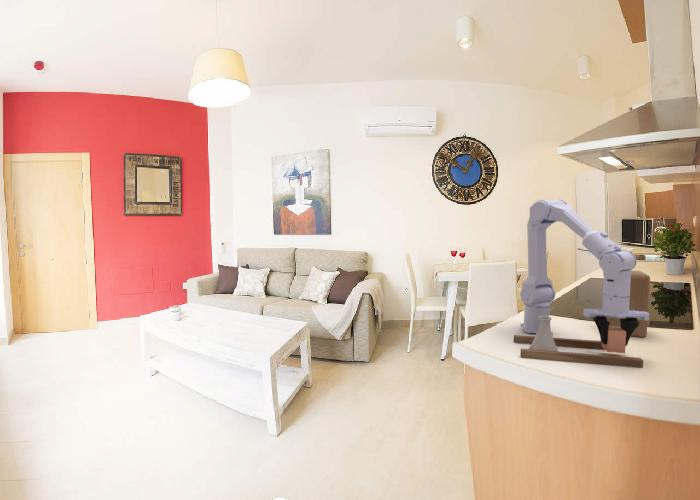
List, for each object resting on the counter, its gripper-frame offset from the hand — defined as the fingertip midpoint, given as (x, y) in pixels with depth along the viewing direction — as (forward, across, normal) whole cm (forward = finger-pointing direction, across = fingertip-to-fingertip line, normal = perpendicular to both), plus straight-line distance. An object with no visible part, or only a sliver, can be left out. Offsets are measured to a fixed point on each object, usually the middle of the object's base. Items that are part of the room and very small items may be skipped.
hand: (613, 343), depth 94 cm
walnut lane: (+3, -10, 0) cm, 11 cm away
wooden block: (+4, +12, +24) cm, 27 cm away
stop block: (+2, 0, 0) cm, 2 cm away
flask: (+4, -17, 0) cm, 17 cm away
